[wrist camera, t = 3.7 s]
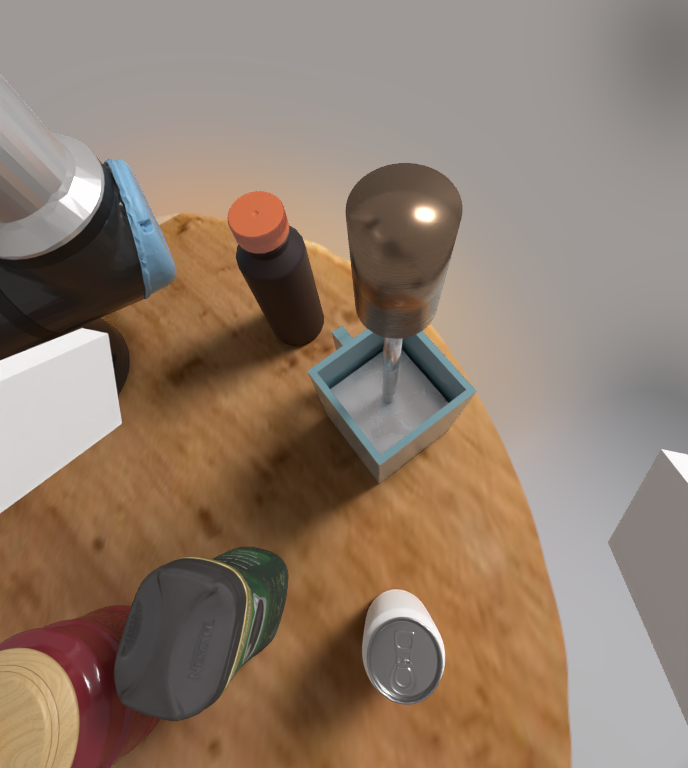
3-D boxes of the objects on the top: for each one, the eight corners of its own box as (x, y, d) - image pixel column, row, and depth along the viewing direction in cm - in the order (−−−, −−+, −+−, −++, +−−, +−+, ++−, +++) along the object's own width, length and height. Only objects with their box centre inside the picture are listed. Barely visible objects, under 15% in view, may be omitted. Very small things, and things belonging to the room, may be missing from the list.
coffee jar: (227, 540, 46) (135, 548, 29) (296, 555, 45) (244, 574, 27) (201, 638, 43) (80, 714, 26) (274, 657, 42) (200, 751, 25)
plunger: (330, 392, 41) (260, 198, 17) (395, 345, 42) (417, 99, 18) (381, 458, 38) (385, 343, 14) (448, 406, 39) (559, 218, 15)
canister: (58, 767, 41) (-165, 937, 24) (54, 621, 45) (-137, 678, 28) (188, 730, 41) (55, 872, 24) (171, 588, 45) (50, 625, 28)
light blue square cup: (313, 396, 51) (287, 345, 37) (378, 349, 52) (378, 283, 38) (379, 484, 47) (379, 465, 33) (447, 430, 48) (476, 391, 34)
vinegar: (333, 331, 53) (308, 224, 34) (285, 355, 53) (233, 260, 34) (310, 291, 55) (275, 170, 37) (264, 313, 55) (204, 202, 36)
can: (363, 657, 41) (358, 707, 30) (367, 585, 44) (362, 607, 32) (430, 664, 41) (449, 717, 30) (429, 591, 43) (448, 614, 32)
